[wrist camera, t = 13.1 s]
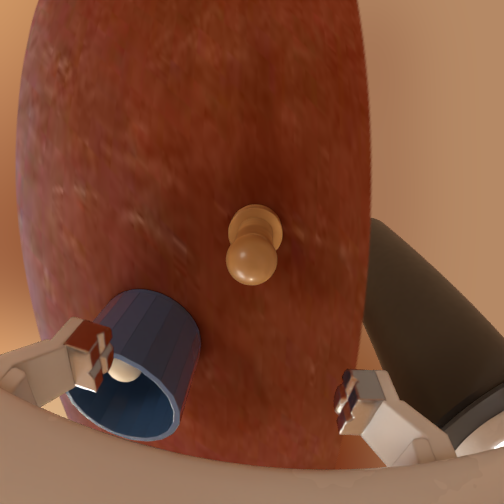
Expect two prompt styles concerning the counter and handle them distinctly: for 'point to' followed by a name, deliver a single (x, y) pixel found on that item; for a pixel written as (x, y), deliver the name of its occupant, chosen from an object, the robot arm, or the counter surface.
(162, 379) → the cup
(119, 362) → the ivory pawn
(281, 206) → the counter surface
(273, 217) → the maple pawn
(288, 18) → the counter surface
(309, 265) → the counter surface
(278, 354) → the counter surface
